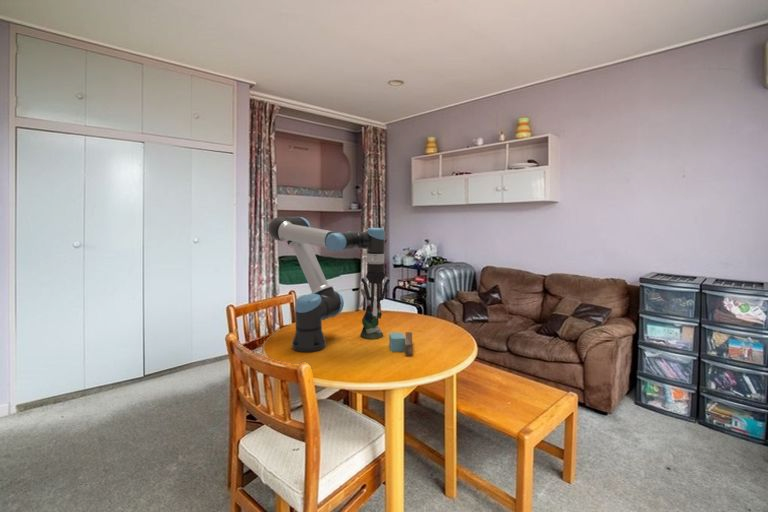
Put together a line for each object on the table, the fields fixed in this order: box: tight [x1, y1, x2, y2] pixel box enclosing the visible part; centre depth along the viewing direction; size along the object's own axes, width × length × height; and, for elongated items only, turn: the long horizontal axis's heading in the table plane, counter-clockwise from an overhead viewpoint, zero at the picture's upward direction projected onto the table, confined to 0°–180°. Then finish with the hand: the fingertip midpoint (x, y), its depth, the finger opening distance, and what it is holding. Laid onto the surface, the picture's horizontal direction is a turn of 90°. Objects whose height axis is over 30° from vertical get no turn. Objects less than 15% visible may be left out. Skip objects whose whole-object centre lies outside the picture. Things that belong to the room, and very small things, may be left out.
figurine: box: [360, 286, 384, 340], centre depth 195 cm, size 11×13×25 cm
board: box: [404, 331, 413, 357], centre depth 177 cm, size 3×18×5 cm, turn 176°
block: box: [388, 332, 406, 353], centre depth 178 cm, size 6×9×6 cm, turn 6°
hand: (375, 315), depth 177 cm, fingers closed
